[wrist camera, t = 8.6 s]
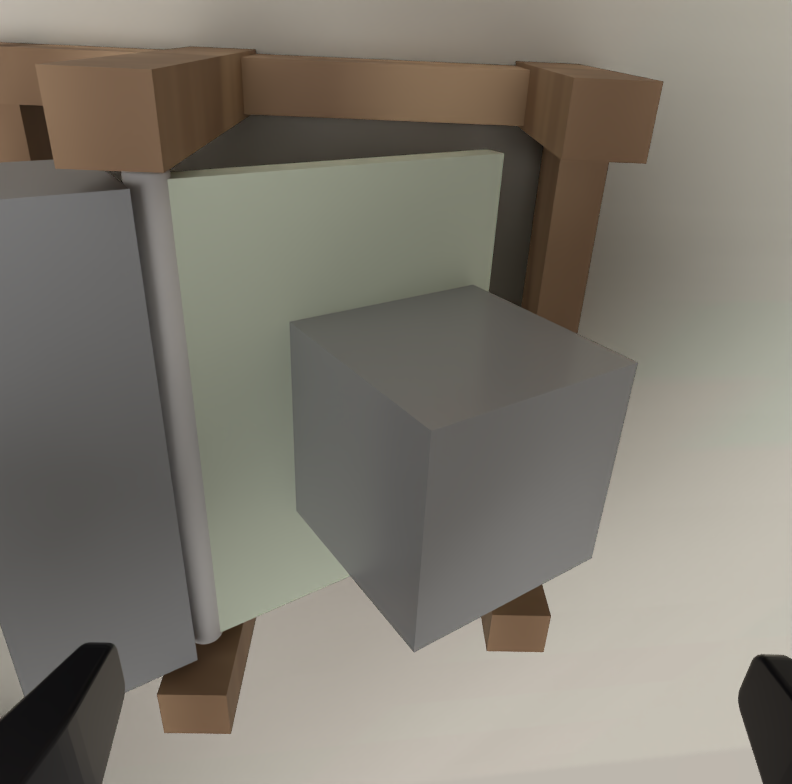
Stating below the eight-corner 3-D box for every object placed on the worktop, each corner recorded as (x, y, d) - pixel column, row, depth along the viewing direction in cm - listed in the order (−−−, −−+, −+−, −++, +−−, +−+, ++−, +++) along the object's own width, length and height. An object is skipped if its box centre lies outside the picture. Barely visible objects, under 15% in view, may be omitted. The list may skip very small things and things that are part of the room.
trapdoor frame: (96, 505, 24) (-38, 730, 16) (-4, 37, 17) (-323, 48, 9) (525, 515, 24) (589, 738, 17) (601, 65, 17) (770, 97, 10)
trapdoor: (15, 639, 16) (37, 735, 14) (-139, 164, 11) (-143, 203, 9) (414, 487, 23) (472, 539, 20) (439, 133, 17) (519, 152, 15)
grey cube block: (456, 453, 19) (591, 558, 15) (296, 510, 17) (414, 652, 13) (473, 284, 17) (637, 362, 13) (289, 321, 14) (431, 430, 11)
